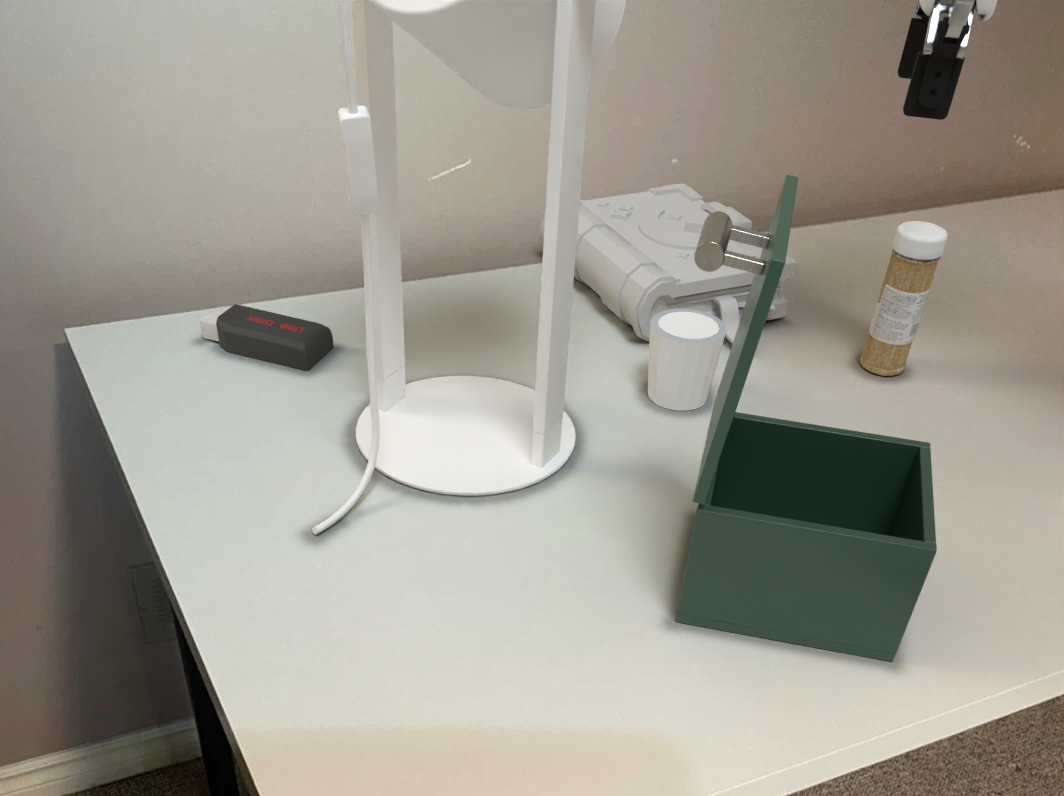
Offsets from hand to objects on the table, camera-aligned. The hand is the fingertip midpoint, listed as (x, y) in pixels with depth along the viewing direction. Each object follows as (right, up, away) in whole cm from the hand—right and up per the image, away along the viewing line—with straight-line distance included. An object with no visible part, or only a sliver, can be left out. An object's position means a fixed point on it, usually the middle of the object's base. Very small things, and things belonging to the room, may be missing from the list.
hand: (920, 96), depth 82 cm
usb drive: (-56, -12, +22) cm, 61 cm away
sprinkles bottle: (+5, -13, +25) cm, 28 cm away
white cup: (-16, -17, +19) cm, 30 cm away
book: (-15, -2, +34) cm, 37 cm away
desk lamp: (-37, -25, +11) cm, 46 cm away
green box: (-10, -38, -1) cm, 39 cm away
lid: (-16, -23, -13) cm, 31 cm away
